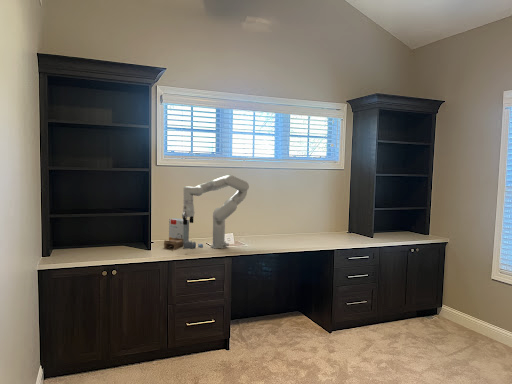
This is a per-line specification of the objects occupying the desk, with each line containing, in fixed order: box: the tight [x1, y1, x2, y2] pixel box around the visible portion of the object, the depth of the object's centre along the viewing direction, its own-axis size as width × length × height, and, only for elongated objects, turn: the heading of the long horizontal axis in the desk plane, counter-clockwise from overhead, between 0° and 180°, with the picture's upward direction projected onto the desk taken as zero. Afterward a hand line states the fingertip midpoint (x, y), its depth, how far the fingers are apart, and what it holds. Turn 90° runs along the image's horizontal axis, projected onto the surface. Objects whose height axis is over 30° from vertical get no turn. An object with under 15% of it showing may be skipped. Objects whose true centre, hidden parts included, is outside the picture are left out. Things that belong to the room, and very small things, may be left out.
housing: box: [182, 240, 197, 250], centre depth 301 cm, size 8×6×6 cm
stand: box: [163, 238, 183, 250], centre depth 302 cm, size 10×12×6 cm
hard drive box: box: [168, 217, 190, 243], centre depth 318 cm, size 16×8×20 cm, turn 62°
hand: (188, 223), depth 302 cm, fingers open, 9 cm apart
